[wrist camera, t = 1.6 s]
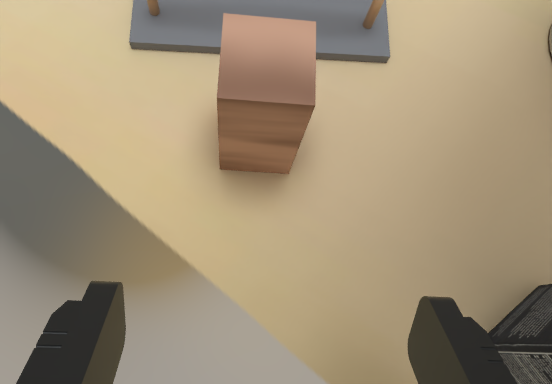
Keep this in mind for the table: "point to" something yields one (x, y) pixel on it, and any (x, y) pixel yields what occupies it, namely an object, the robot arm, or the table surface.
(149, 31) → the board with wooden handle
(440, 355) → the robot arm
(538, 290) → the small box
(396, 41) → the table surface
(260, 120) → the block
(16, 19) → the table surface
